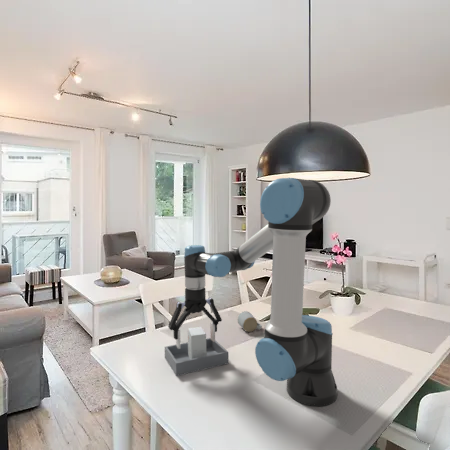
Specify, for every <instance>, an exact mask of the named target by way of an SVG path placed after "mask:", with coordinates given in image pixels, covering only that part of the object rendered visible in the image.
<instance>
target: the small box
mask: <svg viewBox="0 0 450 450" xmlns="http://www.w3.org/2000/svg"><path fill="white" fill-rule="evenodd" d="M206 339H207V333H206V332H205V329H204V328H203V327H202V326H197V327H188V328H187V342H188V355H189V358H190V359H194V358H199V357H203V356H206Z"/></svg>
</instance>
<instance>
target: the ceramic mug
mask: <svg viewBox="0 0 450 450" xmlns="http://www.w3.org/2000/svg"><path fill="white" fill-rule="evenodd" d="M237 323H238V326H240V327H241V328H242V330H244V331H245V332H247V333H252V332H254V331H255V330H256V329H257V330H261V329H262V327H263V325H262V324H261V323H259V322H258V321H257V319H256V318H255V316H254V315H253V314H252V313H251V312H250V311H247V310H244V311H241V312H240V313H239V314H238V315H237Z"/></svg>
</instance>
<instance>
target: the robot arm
mask: <svg viewBox="0 0 450 450" xmlns="http://www.w3.org/2000/svg"><path fill="white" fill-rule="evenodd" d="M259 201H260V202H259V208H260V211H261V214H262V215H263V218H264V219H265V220H266V221H267V224H266V225H265V226H264V227H262V228H261V229H260V230H258V231H257V232H256V233H255V234H253V235H251V237H250V238H248V239H247V240H246V241H245V242H243V243H242V244H241V245H240V246H238V247H237V248H236V249H234V250H230V251H229V250H228V251H222V252H215V253H212V252H206V249H205V248H206V247H205V246H204V245H199V244H198V245H197V244H195V245H194V244H192V245H187V246H185V247H184V256H183V260H184V262H183V263H184V286H185V287H184V294H185V295H184V299H185V300H184V301H183V302H180V301H177V302H176V307H175V310H174V312H173V314H172V316H171V318H170V322H169V324H168V329H169V330H170V331H173V339H174V340H176V341H175V345H176V346H177V348H178V349H181V344H182V343H181V329H180V328H181V327H182V325H183V323H184V322H185V321H186V319H187V318H188V317H189V316H190V315H191V314H196V313H198V314H199V313H201V312H203V313H204V315H206V316H207V318H208V319H209V320H210V321H211V322H210V325H209V326H210V338H211V340H212V341H213V342H215V340H216V333H217V331H218V325H219V322H220V323H221V322H222V321H223V319H222V317H221V314H220V313H219V312H218V309H217V307H216V306H215V302H214V301H215V300H214V299H213V298H212V297H210V296H209V297H208V298H206V275H207V276H211V277H214V278H224V277H226V275H228V274H229V273H233V272H238V271H239V272H240V271H246V270H249V269H252V267H254V265H255V263H256V261H257V260H258V259H260V258H261V257H263V256H264V255H266V254H267V253H268V252H270V251H271V250H272V266H271V267H272V269H271V292H270V293H271V294H270V318H269V320H267V321H266V322H265V324H264V331H263V332H264V333H263V334H264V335H263V337H262V338H261V339H259V341H257V343H256V345H255V352H254V353H255V359H256V360H257V361H256V362H257V364H258V365H259V367H260V369H261V370H262V372H264V374H265V375H266V376H267V377H269V378H270V379H271V380H274V381H278V382H284V381H286V392H287V394H288V395H289V396H290V397H291V398H292V399H293V400H294V401H295V402H298V403H301V404H303V405H308V406H313V407H322V406H328V405H331V404H333V403H335V402H336V400H337V398H338V386H337V383H336V379H335V375H334V374H333V373H334V372H333V370H332V365H333V363H332V362H333V361H332V360H333V359H332V358H333V355H332V354H333V353H332V352H333V326H332V323H331V322H330V321H329V320H327V319H325V318H322V317H318V316H314V315H308V314H307V315H306V314H304V315H303V312H304V311H303V307H304V289H305V288H304V287H305V286H304V285H305V265H306V264H305V262H306V261H305V259H306V243H307V242H306V241H307V239H306V238H307V236H308V234H309V233H311V232H312V231H313V225H314V224H315V223H317V222H318V221H320V220H321V219H323V218H324V216H325V215H326V214H327V213H328V211H329V209H330V206H331V203H332V202H331V194H330V191H329V189H328V188H327V187H326V186H325V185H324V184H323V183H321V182H320V181H317V180H313V179H303V178H302V179H301V178H295V177H281V178H277V179H274V180H272V181H270V183H269V184H268V185H267V186H265V188H264V190H263V191H262V193H261V197H260V200H259ZM207 304H208V305H209V307H210V309H211V312H212V313H213V315H214V316H213V315H212V314H211V313H210V311H208V309H207V308H206V305H207ZM184 307H185V308H184ZM183 308H184V310H183V312H182V309H183ZM181 312H182V314H181ZM180 314H181V315H180Z"/></svg>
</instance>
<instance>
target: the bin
mask: <svg viewBox="0 0 450 450" xmlns="http://www.w3.org/2000/svg"><path fill="white" fill-rule="evenodd" d="M180 344H181V349H178V348H177V346H176V344H172V345H167V346H164V359H165V360H166V362H167V363H168V365H169V367H170V368H171V370H172V372H173V374H175V376H181V375H186V374H190V373H194V372H199V371H203V370H207V369H211V368H216V367H220V366H224V365H228V364H229V362H230V361H229V351H228V350H227V349H225V347H223V346H222V345H221V343H219V342H218V341H217V340H216V339H215V342H213V341H212V340H211V337H208V338H207V337H206V356H203V357H199V358H194V359H190V358H189V355H188V341H187V342H181V343H180Z"/></svg>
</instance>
